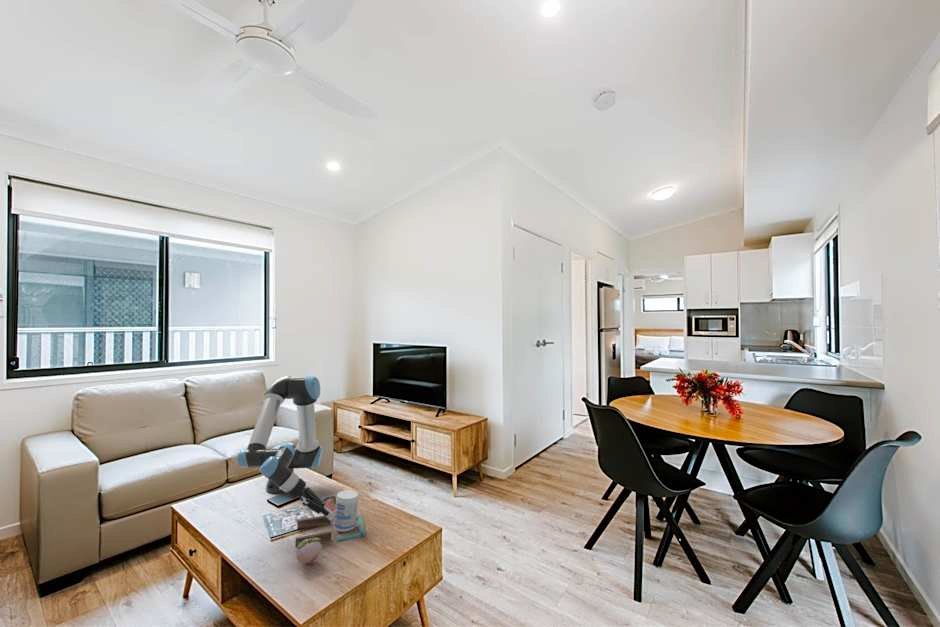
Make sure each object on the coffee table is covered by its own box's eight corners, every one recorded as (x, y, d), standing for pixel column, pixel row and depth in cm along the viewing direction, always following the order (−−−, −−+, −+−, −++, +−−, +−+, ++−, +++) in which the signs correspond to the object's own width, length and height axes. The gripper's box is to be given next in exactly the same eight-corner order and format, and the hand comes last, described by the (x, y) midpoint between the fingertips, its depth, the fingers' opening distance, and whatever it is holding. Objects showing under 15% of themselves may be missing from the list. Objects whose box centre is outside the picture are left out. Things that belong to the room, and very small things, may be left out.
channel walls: (297, 527, 176) (297, 519, 176) (330, 522, 181) (330, 514, 181) (295, 547, 161) (295, 539, 161) (331, 541, 166) (331, 533, 166)
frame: (334, 520, 182) (334, 519, 182) (361, 516, 186) (361, 514, 186) (336, 541, 166) (336, 539, 166) (365, 536, 170) (365, 534, 170)
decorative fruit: (313, 553, 157) (314, 528, 157) (324, 562, 152) (325, 536, 152) (290, 564, 150) (291, 538, 150) (301, 574, 145) (301, 547, 145)
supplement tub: (332, 533, 170) (335, 499, 171) (333, 522, 179) (336, 490, 180) (355, 531, 173) (358, 498, 174) (355, 521, 182) (358, 489, 183)
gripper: (287, 485, 172) (326, 517, 178) (284, 499, 160) (326, 532, 166) (300, 472, 174) (338, 503, 180) (299, 484, 162) (340, 518, 168)
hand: (333, 517), depth 173 cm, fingers closed
